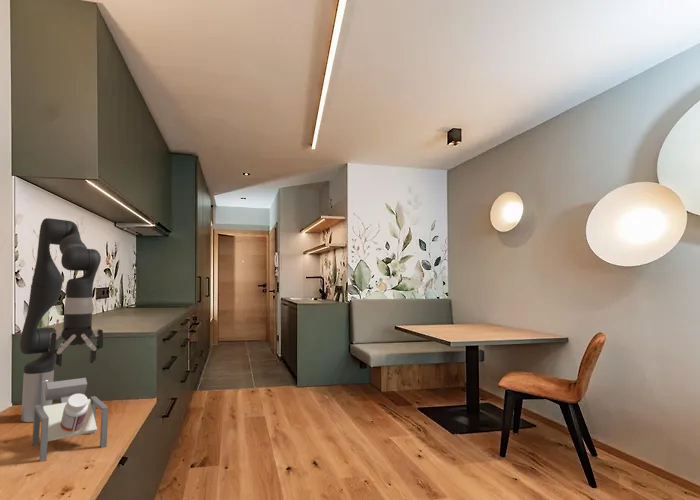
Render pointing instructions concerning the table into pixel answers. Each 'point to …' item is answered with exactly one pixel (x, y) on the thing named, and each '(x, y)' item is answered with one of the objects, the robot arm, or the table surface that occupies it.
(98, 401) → the stand
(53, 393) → the trapdoor
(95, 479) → the table surface
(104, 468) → the table surface
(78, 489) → the table surface
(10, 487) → the table surface
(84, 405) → the pill bottle
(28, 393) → the robot arm
